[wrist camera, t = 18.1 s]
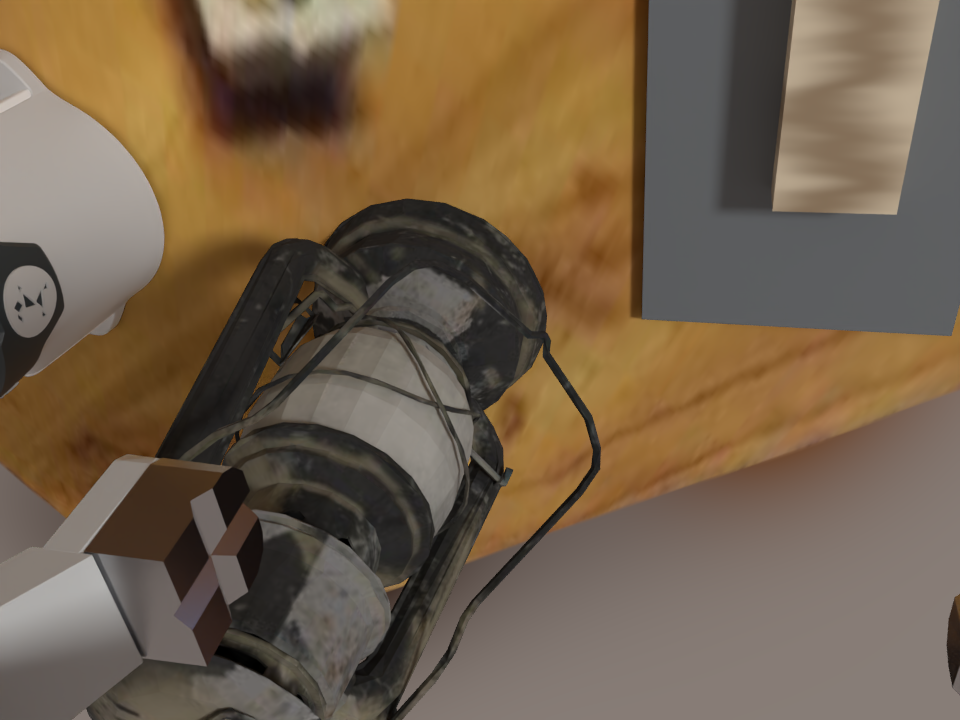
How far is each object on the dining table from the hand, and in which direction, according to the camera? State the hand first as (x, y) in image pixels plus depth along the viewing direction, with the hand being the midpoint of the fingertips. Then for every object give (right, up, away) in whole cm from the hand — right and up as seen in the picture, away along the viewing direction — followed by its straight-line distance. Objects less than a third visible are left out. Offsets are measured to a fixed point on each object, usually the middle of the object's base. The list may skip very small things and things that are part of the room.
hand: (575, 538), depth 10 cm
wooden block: (+16, +10, +33) cm, 38 cm away
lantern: (-3, +6, +44) cm, 44 cm away
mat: (+15, +13, +33) cm, 39 cm away
